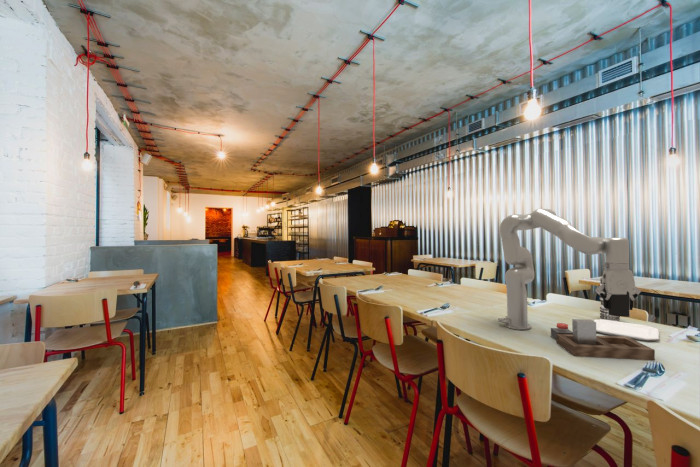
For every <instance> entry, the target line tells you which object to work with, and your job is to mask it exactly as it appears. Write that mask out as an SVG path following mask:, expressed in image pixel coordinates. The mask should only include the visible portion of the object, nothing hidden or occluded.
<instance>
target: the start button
mask: <svg viewBox="0 0 700 467" xmlns="http://www.w3.org/2000/svg"><path fill="white" fill-rule="evenodd" d="M556 328H560V329H569V324H567V323H563V322H557V323H556Z"/></svg>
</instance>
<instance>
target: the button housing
mask: <svg viewBox="0 0 700 467" xmlns="http://www.w3.org/2000/svg"><path fill="white" fill-rule="evenodd" d="M556 334H571V335H573V331H572V330H570V329H569V328H568V329H560V328H557V327H551V328H550V337H552V339H554V340H556Z"/></svg>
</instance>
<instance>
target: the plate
mask: <svg viewBox="0 0 700 467" xmlns="http://www.w3.org/2000/svg"><path fill="white" fill-rule="evenodd" d="M593 321H594V322H596V333H600V334H603V335H606V336H622V337H629V338H631V339H633V340H635V341H646V342H647V341H651V342H652V341H656V340H658V341H659V340H660V333H659V332H660V331H659V329H658V328H656V327H652V326H649V325H644V324H638V323H632V322H631V323H630V322H625V321H620V322H618V321H611V320H604V319H601V318H599V319H593Z"/></svg>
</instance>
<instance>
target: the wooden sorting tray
mask: <svg viewBox="0 0 700 467" xmlns="http://www.w3.org/2000/svg"><path fill="white" fill-rule="evenodd" d="M571 323H572V324H571V326H572V329H571V331H572V332H573V335H571V334H556V339H555V340H556V344H558V345H559V346H560V347H561V348H563V349H564V348H565V349H564V350H565V351H567V352H568V351H569V352H568V353H569V354H571V355H572V354H573V355H572V356H574V357H583V356H585V358H586V357H587V358H588V357H589V358H603V357H604V358H608V359H625V360H644V361H645V360H647V361H655V360H656V355H655V351H656V350H655V349H654V348H651V347H650V346H647V345H646V344H643V343H641V342H639V341H638V340H636V339H631V338H629V337H622V336H613V335H597V331H596V322H594V320H592V319H584V318H583V319H581V318H580V319H579V318H578V319H576V318H575V319H574V318H572V320H571Z"/></svg>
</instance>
